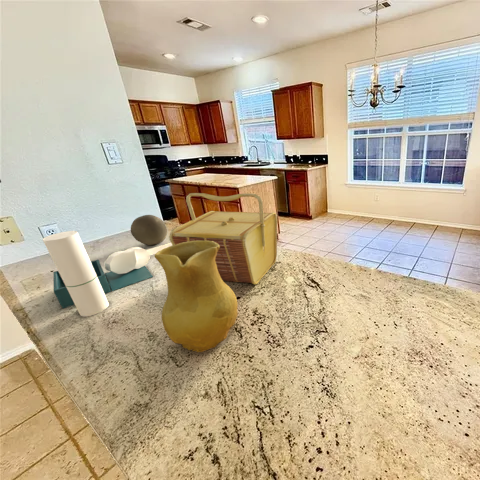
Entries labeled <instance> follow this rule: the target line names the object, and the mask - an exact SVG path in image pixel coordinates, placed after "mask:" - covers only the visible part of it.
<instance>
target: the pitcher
mask: <svg viewBox="0 0 480 480" xmlns="http://www.w3.org/2000/svg"><path fill="white" fill-rule="evenodd" d="M219 248H220V246H219V244H218V243H216V242H213V241H202V240H201V241H189V242H183V243H179V244H176V245H172V246H169V247H167V248H164V249H162V250H161V251H158V252H157V253H156V254H153V255H154V258H155V260H156V261H157V262H158V263H159V265H160V266H161V267H162V269H163V271H164V274H165V278H166V285H167V296H166V299H165V301H164V304H163V306H162V310H161V322H162V326H163V330H164V331H165V333H166V335H167V336H168V338H169V339H170V340H171V342H173V343H174V344H178V345H180V344H181V346H182V347H183V349H186V350H187V351H191V350H192V352H196V353H203V352H205V351H208V350H210V349H214V348H216V347H217V346H218V345H219V344H221V343H222V342H224V341H225V340H226V339H227V338H228V333H229V332H230V330H231V328H232V327H233V326H234V325H235V324H236V320H237V318H238V314H239V313H238V312H239V311H238V299H237V296H236V294H235V292H234V290H233V289H232V288H231V287H230V286H229V285H228V284H227V283H226V282H225V281H224V280H222V279H221V277H220V274H219V272H218V269H217V265H216V262H215V258H216V255H217V252H218V250H219Z"/></svg>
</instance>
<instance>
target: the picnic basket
mask: <svg viewBox="0 0 480 480" xmlns="http://www.w3.org/2000/svg"><path fill="white" fill-rule="evenodd" d="M192 197H202V198H205V199H206V200H210V201H214V202H232V201H237V200H239V199H240V198H242V197H243V198H244V197H245V198H246V197H252V198H255V199H257V202H258V212H252V211H220V210H219V211H216V210H215V211H214V210H210V211H208V212H206V213H203V214H201V215H199V216H197V217H196V215H195V211H194V208H193V205H192V202H191V198H192ZM185 198H186V199H185V202H186V204H187V209H188V211H189V214H190V217H191V220H189V221H187V222H185V223H183V224H181V225H179V226H177V227H174V228H173V229H172V230H171V231H170V233H169V238H168V239H169V241H170V243H172V245H176V244H179V243H183V242H189V241H201V240H202V241H213V242H216V243H218V244H219V246H220V248H219V250H218V252H217V255H216V258H215V262H216V265H217V269H218V272H219V274H220V277H221V279H222V280H223V281H224V282H235V283H236V282H237V283H247V284H252V285H254V286H255V285H258V284H259V282H260V281H261V280H262V279H263V277H264V276H266V274H267V273H268V272H269V270H270V269H271V268H272V266H273V265H274V264H276V260H277V255H278V215H277V213H276V212H264V203H263V202H264V201H263V199H262V197H261V196H260V195H258V194H256V193H238V194H233V195H228V196H219V195H213V194H208V193H204V192H203V193H201V192H191V193H188V195H186V196H185Z"/></svg>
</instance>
